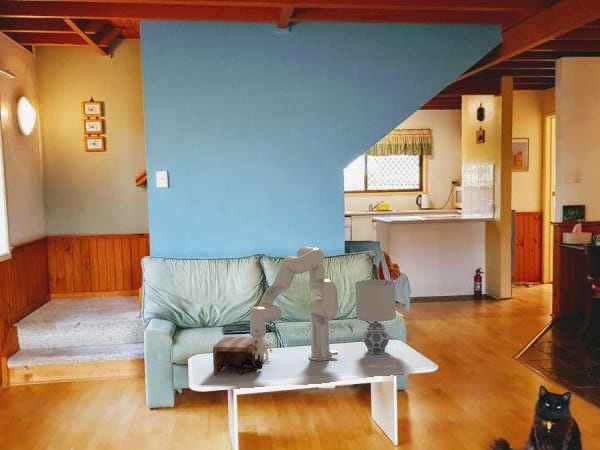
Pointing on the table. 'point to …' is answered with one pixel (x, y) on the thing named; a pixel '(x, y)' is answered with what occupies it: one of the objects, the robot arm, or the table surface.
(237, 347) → the open wooden box
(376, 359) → the table surface
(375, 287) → the lamp
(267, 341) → the cream tall piece
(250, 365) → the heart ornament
